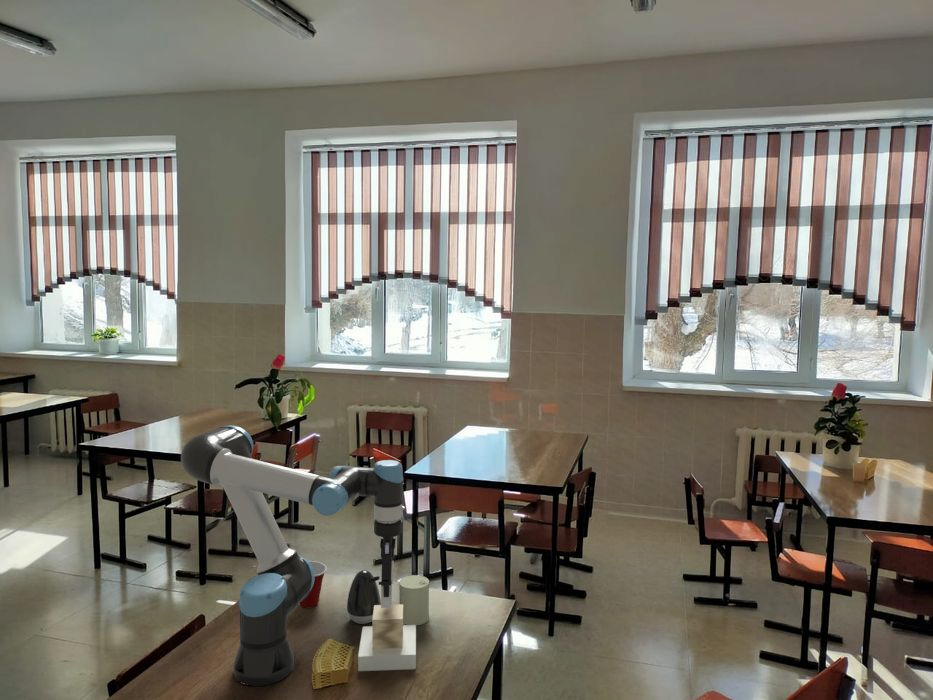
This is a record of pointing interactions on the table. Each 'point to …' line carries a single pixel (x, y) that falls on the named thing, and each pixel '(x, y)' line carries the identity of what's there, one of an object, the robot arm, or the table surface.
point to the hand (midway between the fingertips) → (387, 595)
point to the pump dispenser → (363, 597)
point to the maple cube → (387, 627)
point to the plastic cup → (315, 585)
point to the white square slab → (387, 652)
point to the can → (414, 599)
